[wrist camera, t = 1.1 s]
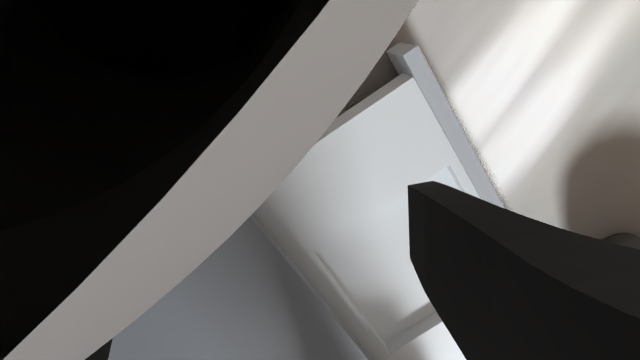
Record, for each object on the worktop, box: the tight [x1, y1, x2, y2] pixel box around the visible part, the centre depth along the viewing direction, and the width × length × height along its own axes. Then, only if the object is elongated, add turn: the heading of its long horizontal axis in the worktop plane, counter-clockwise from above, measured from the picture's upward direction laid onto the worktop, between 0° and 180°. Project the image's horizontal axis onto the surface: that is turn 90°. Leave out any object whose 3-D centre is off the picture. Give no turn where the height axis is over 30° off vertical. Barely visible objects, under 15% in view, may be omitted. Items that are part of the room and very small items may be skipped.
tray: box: [253, 42, 505, 360], centre depth 21 cm, size 18×11×2 cm, turn 33°
